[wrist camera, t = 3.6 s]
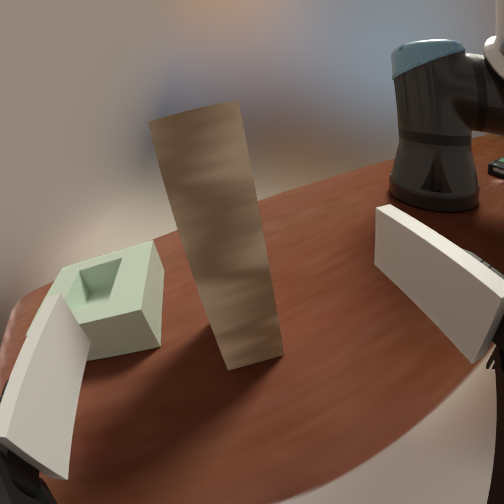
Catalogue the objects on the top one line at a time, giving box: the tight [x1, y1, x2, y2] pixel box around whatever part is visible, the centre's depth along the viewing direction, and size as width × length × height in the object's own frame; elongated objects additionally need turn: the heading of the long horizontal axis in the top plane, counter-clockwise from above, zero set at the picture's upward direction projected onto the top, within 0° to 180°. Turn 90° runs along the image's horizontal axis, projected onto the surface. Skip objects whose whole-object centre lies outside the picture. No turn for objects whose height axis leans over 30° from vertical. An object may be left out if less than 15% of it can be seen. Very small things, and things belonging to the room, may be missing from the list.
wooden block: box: [148, 100, 284, 370], centre depth 18 cm, size 4×6×16 cm, turn 12°
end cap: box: [26, 240, 164, 361], centre depth 25 cm, size 12×12×4 cm
